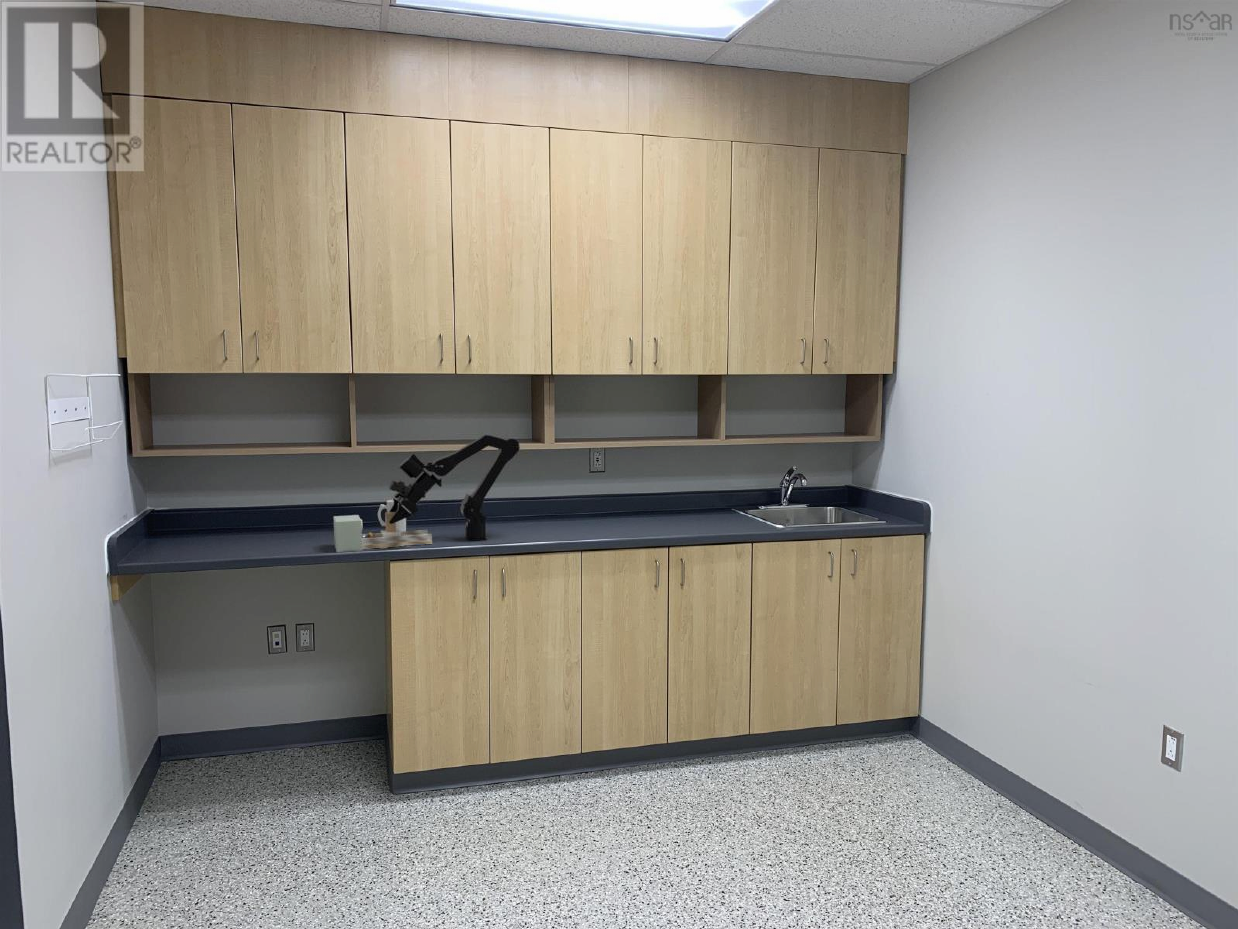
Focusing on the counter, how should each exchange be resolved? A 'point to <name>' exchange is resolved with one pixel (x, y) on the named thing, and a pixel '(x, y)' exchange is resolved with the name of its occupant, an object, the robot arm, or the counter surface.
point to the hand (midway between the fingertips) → (388, 521)
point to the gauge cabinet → (348, 533)
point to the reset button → (368, 535)
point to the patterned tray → (397, 539)
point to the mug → (400, 524)
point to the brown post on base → (390, 527)
